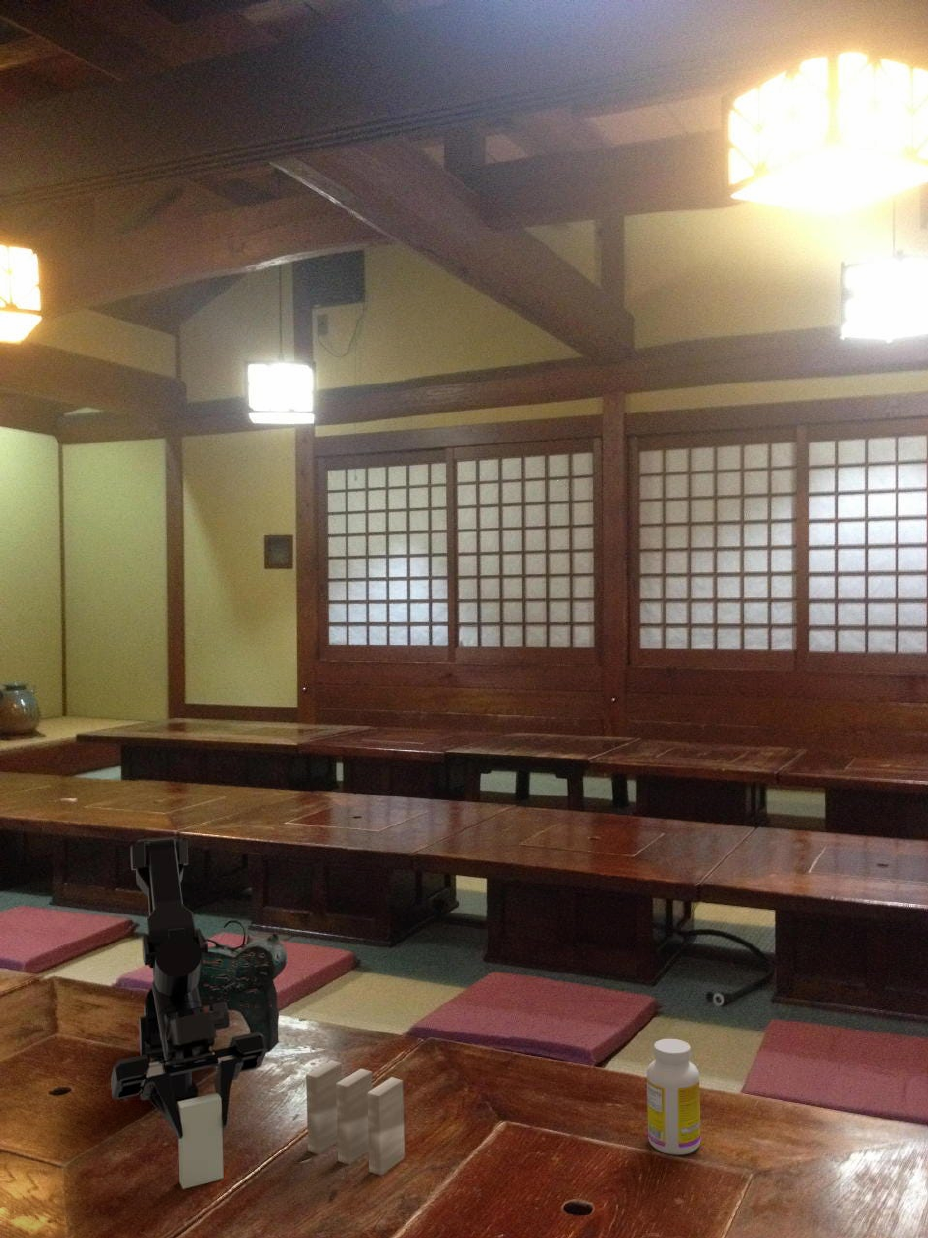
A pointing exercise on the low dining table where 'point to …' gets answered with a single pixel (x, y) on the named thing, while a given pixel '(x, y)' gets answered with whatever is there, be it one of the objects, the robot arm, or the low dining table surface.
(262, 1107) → the low dining table surface
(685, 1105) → the supplement bottle
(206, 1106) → the sage domino
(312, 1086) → the ivory domino
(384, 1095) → the ivory domino
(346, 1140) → the ivory domino
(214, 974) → the ceramic cat
